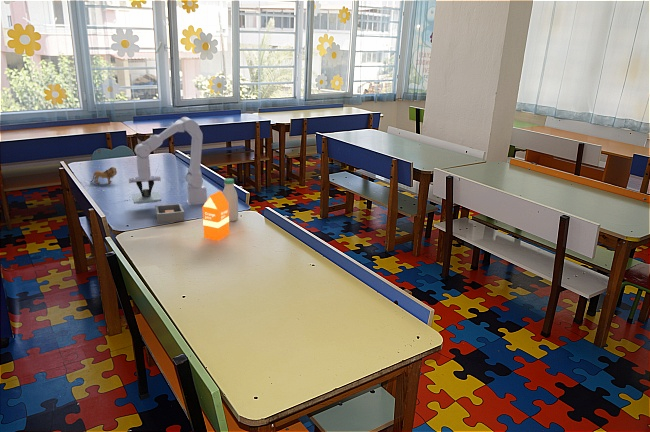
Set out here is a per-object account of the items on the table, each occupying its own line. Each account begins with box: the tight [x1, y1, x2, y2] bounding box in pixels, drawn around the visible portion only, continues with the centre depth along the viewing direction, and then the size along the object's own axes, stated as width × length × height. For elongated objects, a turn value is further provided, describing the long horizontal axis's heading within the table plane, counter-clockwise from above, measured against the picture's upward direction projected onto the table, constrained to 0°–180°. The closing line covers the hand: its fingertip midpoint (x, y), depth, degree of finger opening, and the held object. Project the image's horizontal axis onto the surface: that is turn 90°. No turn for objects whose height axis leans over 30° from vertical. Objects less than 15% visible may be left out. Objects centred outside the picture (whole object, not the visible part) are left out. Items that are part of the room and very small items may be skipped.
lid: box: [131, 188, 162, 205], centre depth 246 cm, size 13×13×5 cm
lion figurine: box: [90, 166, 118, 184], centre depth 285 cm, size 15×5×9 cm, turn 103°
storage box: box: [154, 203, 186, 224], centre depth 239 cm, size 12×12×5 cm
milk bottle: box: [221, 177, 239, 223], centre depth 238 cm, size 8×8×20 cm
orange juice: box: [202, 189, 230, 242], centre depth 219 cm, size 8×9×20 cm
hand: (146, 195), depth 246 cm, fingers closed on lid, 3 cm apart
